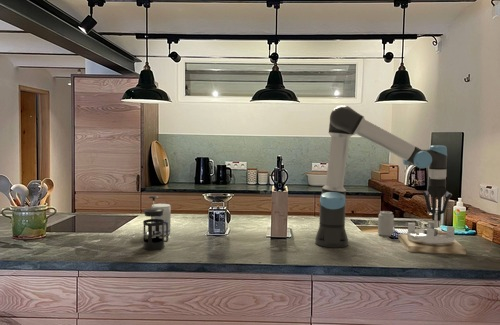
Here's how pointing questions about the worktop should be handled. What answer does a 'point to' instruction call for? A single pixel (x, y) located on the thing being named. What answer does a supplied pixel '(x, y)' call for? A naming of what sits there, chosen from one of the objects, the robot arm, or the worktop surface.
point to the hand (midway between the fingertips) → (436, 227)
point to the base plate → (431, 247)
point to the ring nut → (430, 235)
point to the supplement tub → (163, 216)
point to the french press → (155, 242)
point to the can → (385, 223)
